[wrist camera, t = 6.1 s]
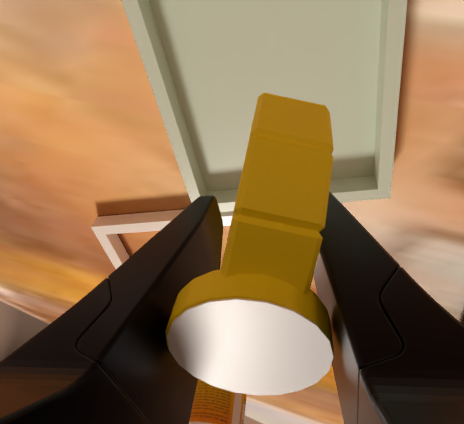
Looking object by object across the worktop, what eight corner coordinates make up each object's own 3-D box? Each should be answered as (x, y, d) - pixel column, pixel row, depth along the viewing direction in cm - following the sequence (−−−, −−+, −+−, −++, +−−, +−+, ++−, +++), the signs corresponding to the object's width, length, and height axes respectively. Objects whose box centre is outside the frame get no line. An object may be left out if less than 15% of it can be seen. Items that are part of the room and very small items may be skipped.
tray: (405, -136, 11) (419, -143, 10) (383, 179, 18) (390, 198, 17) (120, -57, 13) (102, -55, 12) (200, 196, 21) (195, 214, 19)
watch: (238, 56, 9) (179, 169, 4) (347, 80, 9) (425, 221, 4) (206, 238, 12) (155, 417, 7) (285, 255, 12) (285, 445, 7)
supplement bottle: (178, 349, 32) (145, 478, 25) (225, 335, 30) (203, 474, 22) (215, 376, 35) (194, 501, 27) (261, 365, 32) (252, 499, 25)
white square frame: (257, 202, 20) (255, 213, 20) (279, 311, 27) (278, 323, 26) (97, 216, 23) (90, 226, 22) (152, 313, 29) (148, 324, 28)
